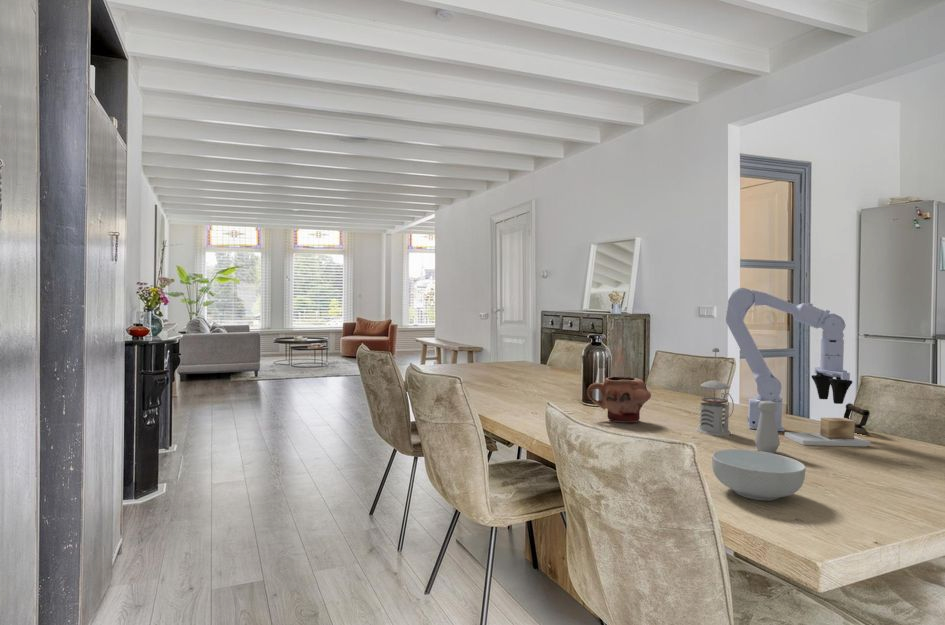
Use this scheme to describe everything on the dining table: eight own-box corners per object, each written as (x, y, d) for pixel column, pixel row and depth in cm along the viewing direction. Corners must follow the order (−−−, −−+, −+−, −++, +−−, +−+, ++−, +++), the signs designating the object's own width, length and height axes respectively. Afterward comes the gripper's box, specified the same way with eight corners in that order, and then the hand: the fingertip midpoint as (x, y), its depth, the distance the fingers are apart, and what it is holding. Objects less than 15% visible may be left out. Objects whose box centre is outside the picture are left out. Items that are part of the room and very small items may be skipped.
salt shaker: (778, 450, 152) (780, 400, 152) (780, 455, 147) (781, 404, 147) (754, 447, 155) (755, 398, 155) (754, 452, 150) (755, 402, 149)
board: (802, 444, 159) (802, 440, 159) (784, 436, 169) (784, 432, 169) (870, 446, 158) (870, 442, 158) (848, 437, 168) (848, 433, 168)
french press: (715, 427, 179) (717, 346, 179) (744, 436, 168) (746, 349, 168) (688, 429, 176) (690, 346, 176) (716, 438, 165) (718, 350, 165)
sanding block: (828, 438, 161) (828, 420, 161) (820, 435, 165) (820, 417, 165) (854, 439, 161) (854, 421, 161) (845, 435, 165) (846, 418, 165)
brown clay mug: (589, 423, 182) (590, 379, 182) (584, 416, 194) (584, 374, 194) (654, 425, 181) (655, 380, 181) (644, 417, 193) (645, 375, 193)
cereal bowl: (761, 514, 106) (762, 475, 106) (693, 486, 121) (693, 452, 121) (824, 502, 113) (825, 466, 112) (752, 478, 128) (753, 445, 128)
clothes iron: (854, 429, 182) (863, 400, 180) (876, 447, 171) (885, 415, 169) (831, 427, 183) (840, 397, 180) (851, 444, 172) (861, 412, 169)
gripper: (861, 357, 164) (860, 405, 164) (831, 353, 178) (830, 397, 179) (835, 357, 164) (834, 405, 164) (808, 352, 179) (806, 397, 179)
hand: (830, 401), depth 172 cm, fingers open, 7 cm apart
